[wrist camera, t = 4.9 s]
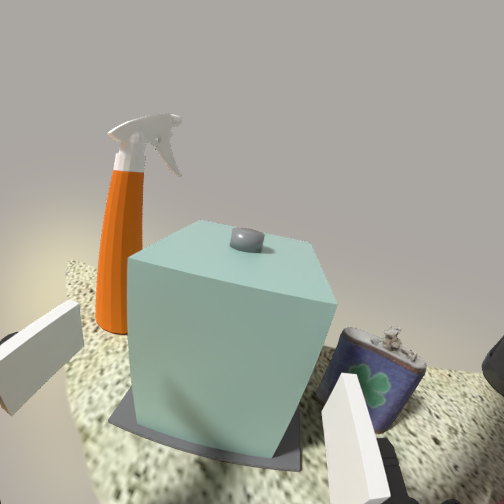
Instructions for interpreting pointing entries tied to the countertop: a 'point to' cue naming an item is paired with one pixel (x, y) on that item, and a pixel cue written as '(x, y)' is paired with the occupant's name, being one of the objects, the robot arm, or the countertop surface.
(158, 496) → the countertop surface
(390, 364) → the flask
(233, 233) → the box
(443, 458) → the countertop surface
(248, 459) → the rubber mat
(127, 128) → the spray bottle
